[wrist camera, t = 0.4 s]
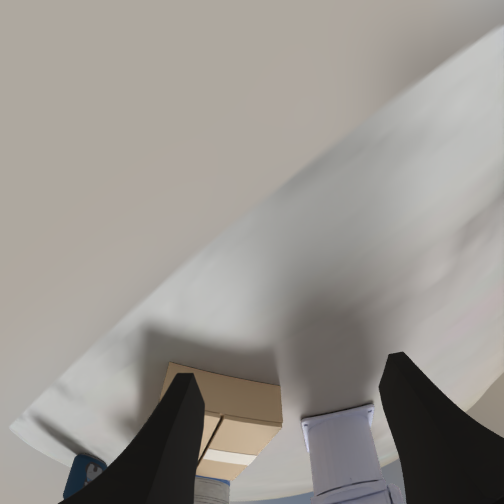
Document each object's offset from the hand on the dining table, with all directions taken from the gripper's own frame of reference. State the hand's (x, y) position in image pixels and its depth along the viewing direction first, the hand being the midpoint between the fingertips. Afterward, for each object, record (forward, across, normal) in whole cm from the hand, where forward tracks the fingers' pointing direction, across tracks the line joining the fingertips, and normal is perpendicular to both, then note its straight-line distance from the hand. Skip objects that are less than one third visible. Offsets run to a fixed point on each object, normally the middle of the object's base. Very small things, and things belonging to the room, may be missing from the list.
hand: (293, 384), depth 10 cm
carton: (+10, +8, +19) cm, 23 cm away
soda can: (+10, +35, +40) cm, 54 cm away
